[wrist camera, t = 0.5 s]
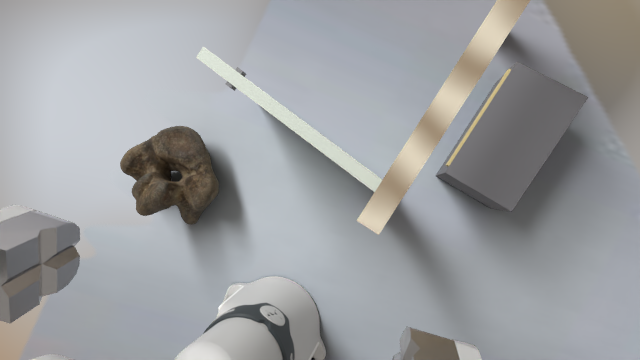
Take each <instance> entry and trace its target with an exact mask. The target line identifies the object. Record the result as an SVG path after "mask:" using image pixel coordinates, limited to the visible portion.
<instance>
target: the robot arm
mask: <svg viewBox="0 0 640 360" xmlns="http://www.w3.org/2000/svg"><path fill="white" fill-rule="evenodd" d="M79 240H80V229H79V227H78V226H77V225H76V224H75V223H73V222H70V221H67V220H64V219H61V218H58V217H55V216H52V215H49V214H46V213H42V212H40V211H36V210H34V209H30V208H27V207H24V206H18V205H11V206H8V207H5V208H2V209H0V321H4V322H7V323H12V322H13V321H15V320H16V319H18V318H19V317H21V316H22V315H24V314H25V313H27V312H28V311H30V310H31V309H33V308H34V307H36V306H37V305H39V304H40V301H41V298H42V296H46V295H49V294H53V293H57V292H58V291H60V290H61V289H63V288H64V287H66V286H67V285H68V284H69V283H70V281H71V280H72V279H73V278H74V276H75V275H76V273H77V270H78V267H79V261H80V256H79V254H78V252H77V250H76V248H75V247H74V246H75V245H76V244H77V243H78V242H79ZM218 310H219V312H218V314H217V317H216V319H215V320H214V321H213V322H212V323H211V325H210V326H209V327H208V328H207V329H206V330H205V332H204V333H203V335H201V336H200V337H199V338H197V339H196V340H195V341H194V342H192V343H191V344H190V345H188V346H187V347H186V348H185V349H183V350H182V351H181V352H180V353H179V354H178V355H177V357H176V358H175V359H174V360H312V359H311V358H312V357H314V358H315V360H324V358H325V356H326V349H325V346H324V344H323V341H322V339H321V337H320V321H319V314H318V311H317V308H316V305H315V303H314V301H313V299H312V298H311V296H310V295H309V294H308V293H307V291H306V290H305V289H304V288H302V287H301V286H300V285H299V284H297V283H296V282H294V281H292V280H289V279H287V278H283V277H276V276H272V277H265V278H261V279H259V280H256V281H254V282H251V283H235V284H232V285H231V286H230V287H229V288H228V290H227V292H226V295H225V298H224V300H223V303H222V304H221V305H220V306H219V308H218ZM400 351H401V352H399V353H398V354H396V355H394V357H393V359H392V360H482V358H481V356H480V353H479V350H478V349H477V348H476V347H475V346H474V345H471V344H468V343H464V342H460V341H457V340H453V339H451V340H450V339H447V338H444V337H440V336H437V335H434V334H430V333H427V332H424V331H421V330H417V329H414V328H411V327H406V328H405V330H404V331H403V333H402V336H401V338H400ZM31 360H74V359H71V358H67V357H64V356H61V355H56V354H50V355H44V356H40V357H37V358H34V359H31Z"/></svg>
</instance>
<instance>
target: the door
mask: <svg viewBox="0 0 640 360" xmlns="http://www.w3.org/2000/svg"><path fill="white" fill-rule="evenodd" d="M197 58H198V59H199V60H200V61H202V62H203V63H204V64H205V65H207V66H208V67H209V68H211V69H212V70H213V71H215V72H216V73H217V74H219V75H220V76H221V77H223V78H224V79H226V80H227V83H226V85H227V86H229V87H230V88H232V89H233V90H235V89H236V88H237V89H239V90H240V91H241V92H243V93H244V94H245V95H247V96H248V97H249V98H250V99H252V100H253V101H254V102H256V103H257V104H258V105H260V106H261V107H262V108H264V109H265V110H266V111H268V112H269V113H270V114H272V115H273V116H274V117H276V118H277V119H278V120H280V121H281V122H282V123H284V124H285V125H286V126H288V127H289V128H290V129H291V130H293V131H294V132H295V133H297V134H298V135H299V136H301V137H302V138H303V139H305V140H306V141H307V142H309V143H310V144H311V145H313V146H314V147H315V148H317V149H318V150H319V151H321V152H322V153H323V154H325V155H326V156H327V157H329V158H330V159H331V160H333V161H334V162H335V163H336V164H338V165H339V166H340V167H342V168H343V169H344V170H346V171H347V172H348V173H350V174H351V175H352V176H354V177H355V178H356V179H358V180H359V181H360V182H362V183H363V184H364V185H366V186H367V187H368V188H370V189H371V190H372V191H374V192H375V191H376V189H377V188H378V186H379V185H380V183H381V182H382V179H381V178H379V177H378V176H377V175H375V174H374V173H373V172H371V171H370V170H369V169H367V168H366V167H365V166H363V165H362V164H360V163H359V162H358V161H356V160H355V159H354V158H352V157H351V156H350V155H348V154H347V153H346V152H344V151H343V150H342V149H340V148H339V147H338V146H336V145H335V144H334V143H332V142H331V141H330V140H328V139H327V138H326V137H324V136H323V135H322V134H320V133H319V132H318V131H316V130H315V129H313V128H312V127H311V126H309V125H308V124H307V123H305V122H304V121H303V120H301V119H300V118H299V117H297V116H296V115H295V114H293V113H292V112H291V111H289V110H288V109H287V108H285V107H284V106H283V105H281V104H280V103H279V102H277V101H276V100H275V99H273V98H272V97H271V96H269V95H268V94H266V93H265V92H264V91H262V90H261V89H260V88H258V87H257V86H256V85H254V84H253V83H252V82H250V81H249V80H248V79H246V78H245V75H246V74H245V73H244V72H243V71H242V70H240V69H239V68H238V67H237V68H236V70H234V69H233V68H232V67H230V66H229V65H228V64H226V63H225V62H223V61H222V60H221V59H220V58H218V57H217V56H215V55H214V54H213V53H211V52H210V51H209V50H207V49H206V48H205V47H203V48H202V49H201V51H200V52H199V54H198V55H197Z"/></svg>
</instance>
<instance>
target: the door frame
mask: <svg viewBox="0 0 640 360" xmlns="http://www.w3.org/2000/svg"><path fill="white" fill-rule="evenodd" d="M529 1H530V0H497V1H496V3H495V5H494V6H493V8H492V9H491V11H490V12H489V14H488V15H487V17H486V19H485V20H484V22H483V23H482V25H481V26H480V28H479V30H478V31H477V33H476V34H475V36H474V37H473V39H472V41H471V42H470V44H469V45H468V47H467V48H466V50H465V52H464V53H463V55H462V56H461V58H460V59H459V61H458V62H457V64H456V66H455V67H454V69H453V70H452V72H451V73H450V75H449V77H448V78H447V80H446V81H445V83H444V84H443V86H442V88H441V89H440V91H439V92H438V94H437V95H436V97H435V99H434V100H433V102H432V103H431V105H430V106H429V108H428V110H427V111H426V113H425V114H424V116H423V117H422V119H421V120H420V122H419V124H418V125H417V127H416V128H415V130H414V131H413V133H412V135H411V136H410V138H409V139H408V141H407V142H406V144H405V146H404V147H403V149H402V150H401V152H400V153H399V155H398V157H397V158H396V160H395V161H394V163H393V164H392V166H391V167H390V169H389V171H388V172H387V174H386V175H385V177H384V178H383V180H382V182H381V183H380V185H379V186H378V188H377V189H376V191H375V193H374V194H373V196H372V197H371V199H370V200H369V202H368V204H367V205H366V207H365V208H364V210H363V211H362V213H361V214H360V216H359V218H358V219H357V221H358V222H360V223H361V224H363V225H364V226H366V227H367V228H369V229H370V230H372V231H373V232H375V233H376V234H378V235H379V234H380V232H381V231H382V229H383V227H384V226H385V224H386V223H387V221H388V220H389V218H390V217H391V215H392V213H393V212H394V210H395V209H396V207H397V206H398V204H399V203H400V201H401V200H402V198H403V196H404V195H405V193H406V192H407V190H408V189H409V187H410V186H411V184H412V183H413V181H414V179H415V178H416V176H417V175H418V173H419V172H420V170H421V169H422V167H423V165H424V164H425V162H426V161H427V159H428V158H429V156H430V155H431V153H432V152H433V150H434V148H435V147H436V145H437V144H438V142H439V141H440V139H441V138H442V136H443V135H444V133H445V131H446V130H447V128H448V127H449V125H450V124H451V122H452V121H453V119H454V118H455V116H456V114H457V113H458V111H459V110H460V108H461V107H462V105H463V104H464V102H465V100H466V99H467V97H468V96H469V94H470V93H471V91H472V90H473V88H474V87H475V85H476V83H477V82H478V80H479V79H480V77H481V76H482V74H483V73H484V71H485V70H486V68H487V66H488V65H489V63H490V62H491V60H492V59H493V57H494V56H495V54H496V52H497V51H498V49H499V48H500V46H501V45H502V43H503V42H504V40H505V39H506V37H507V35H508V34H509V32H510V31H511V29H512V28H513V26H514V25H515V23H516V22H517V20H518V18H519V17H520V15H521V14H522V12H523V11H524V9H525V8H526V6H527V4H528V3H529Z"/></svg>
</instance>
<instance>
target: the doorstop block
mask: <svg viewBox="0 0 640 360" xmlns="http://www.w3.org/2000/svg"><path fill="white" fill-rule="evenodd" d="M587 98H588V97H587V96H585V95H583V94H581V93H579V92H577V91H575V90H573V89H571V88H569V87H567V86H565V85H563V84H561V83H559V82H557V81H555V80H553V79H551V78H549V77H547V76H545V75H543V74H541V73H539V72H537V71H535V70H533V69H531V68H529V67H527V66H525V65H523V64H521V63H519V62H516V63H515V64H514V65H513V66H512V67H511V68H510V69H508V70H507V71H506V73H505V74H504V75H503V76H502V77H501V78H500V79H499V80H498V81H497V82H496V83H495V85H494V86H493V88H492V89H491V91H490V92H489V94H488V95H487V97H486V99H485V100H484V102H483V103H482V105H481V106H480V108H479V109H478V111H477V112H476V114H475V116H474V117H473V119H472V120H471V122H470V123H469V125H468V126H467V128H466V130H465V131H464V133H463V134H462V136H461V137H460V139H459V140H458V142H457V143H456V145H455V147H454V148H453V150H452V151H451V153H450V154H449V156H448V157H447V159H446V160H445V162H444V164H443V165H442V167H441V168H440V170H439V171H438V173H437V174H436V176H437V177H439V178H440V179H442V180H444V181H445V182H447V183H449V184H450V185H452V186H454V187H455V188H457V189H459V190H461V191H462V192H464V193H466V194H467V195H469V196H471V197H472V198H474V199H476V200H477V201H479V202H481V203H482V204H484V205H486V206H488V207H489V208H492V209H499V210H505V211H511V212H512V210H513V209H514V207H515V206H516V204H517V203H518V201H519V200H520V198H521V197H522V195H523V194H524V192H525V191H526V189H527V188H528V186H529V185H530V183H531V182H532V180H533V179H534V177H535V176H536V174H537V173H538V171H539V170H540V168H541V167H542V165H543V164H544V163H545V161H546V160H547V158H548V157H549V155H550V154H551V152H552V151H553V149H554V148H555V146H556V145H557V143H558V142H559V140H560V139H561V137H562V136H563V134H564V133H565V131H566V130H567V128H568V127H569V125H570V124H571V122H572V121H573V119H574V118H575V116H576V115H577V113H578V112H579V110H580V109H581V107H582V106H583V104H584V103H585V101H586V100H587Z"/></svg>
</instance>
